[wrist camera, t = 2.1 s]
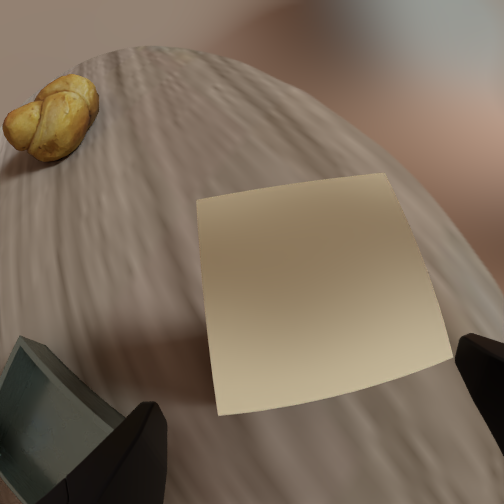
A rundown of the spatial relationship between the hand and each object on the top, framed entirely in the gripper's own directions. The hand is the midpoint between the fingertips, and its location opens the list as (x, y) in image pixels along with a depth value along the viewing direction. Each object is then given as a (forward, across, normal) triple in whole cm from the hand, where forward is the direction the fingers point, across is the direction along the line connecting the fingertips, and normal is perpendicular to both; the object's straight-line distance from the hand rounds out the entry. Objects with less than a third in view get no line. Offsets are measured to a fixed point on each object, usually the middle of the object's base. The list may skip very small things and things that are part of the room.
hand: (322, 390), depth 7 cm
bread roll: (+28, +20, -14) cm, 37 cm away
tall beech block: (+8, 0, +5) cm, 10 cm away
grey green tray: (+4, +16, +9) cm, 19 cm away
